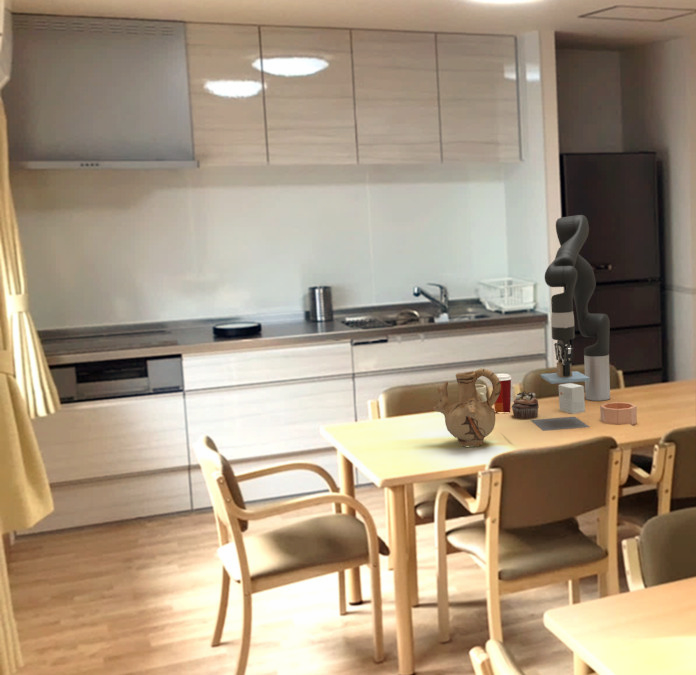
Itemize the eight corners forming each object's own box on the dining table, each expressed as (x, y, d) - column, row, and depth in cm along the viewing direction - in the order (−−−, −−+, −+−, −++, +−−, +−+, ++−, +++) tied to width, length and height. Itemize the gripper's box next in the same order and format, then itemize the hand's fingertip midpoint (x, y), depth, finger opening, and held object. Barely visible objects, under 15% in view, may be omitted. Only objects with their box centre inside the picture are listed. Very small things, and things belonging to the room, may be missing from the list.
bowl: (597, 420, 298) (596, 403, 297) (628, 418, 299) (627, 401, 298) (608, 427, 287) (608, 410, 286) (640, 425, 288) (640, 407, 287)
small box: (585, 414, 309) (584, 385, 307) (572, 416, 307) (571, 387, 305) (571, 410, 316) (570, 382, 315) (559, 412, 314) (558, 384, 313)
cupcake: (541, 416, 310) (540, 389, 308) (536, 422, 301) (534, 395, 300) (515, 415, 314) (514, 388, 312) (509, 421, 305) (508, 394, 304)
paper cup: (512, 409, 324) (510, 372, 323) (514, 413, 317) (512, 376, 315) (491, 410, 325) (489, 373, 323) (492, 414, 318) (491, 377, 316)
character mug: (493, 423, 304) (492, 387, 303) (475, 425, 302) (474, 389, 301) (479, 417, 315) (478, 382, 313) (462, 419, 313) (460, 385, 311)
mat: (530, 422, 301) (530, 420, 301) (574, 419, 302) (574, 416, 302) (543, 433, 286) (543, 430, 285) (590, 429, 286) (590, 426, 286)
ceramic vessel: (479, 434, 290) (475, 361, 287) (513, 445, 273) (510, 368, 270) (433, 443, 282) (429, 369, 279) (466, 455, 265) (461, 376, 262)
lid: (540, 376, 298) (540, 361, 298) (577, 373, 299) (576, 358, 298) (551, 383, 285) (550, 367, 285) (589, 380, 286) (589, 364, 285)
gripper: (546, 323, 296) (547, 372, 299) (558, 328, 282) (559, 379, 285) (567, 321, 297) (569, 370, 299) (580, 326, 283) (582, 377, 285)
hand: (564, 374), depth 292 cm, fingers closed on lid, 4 cm apart
